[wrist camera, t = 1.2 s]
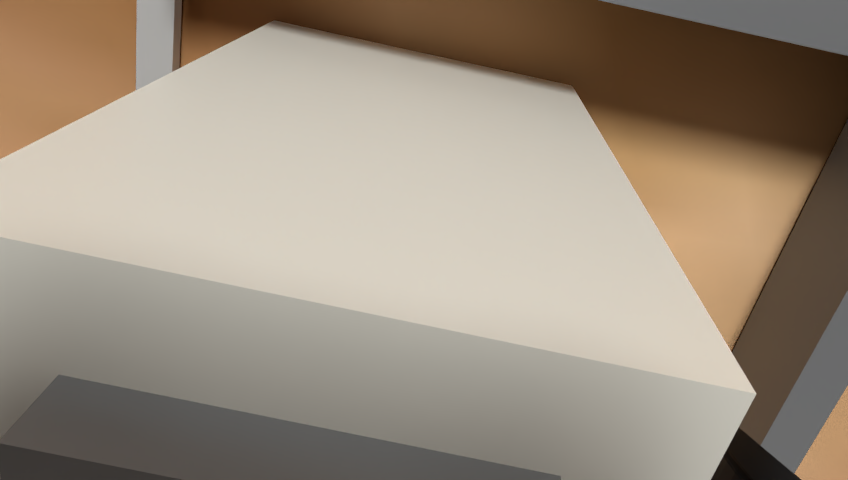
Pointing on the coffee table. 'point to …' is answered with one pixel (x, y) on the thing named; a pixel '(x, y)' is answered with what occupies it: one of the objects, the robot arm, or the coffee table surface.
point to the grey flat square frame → (797, 265)
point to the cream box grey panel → (347, 283)
